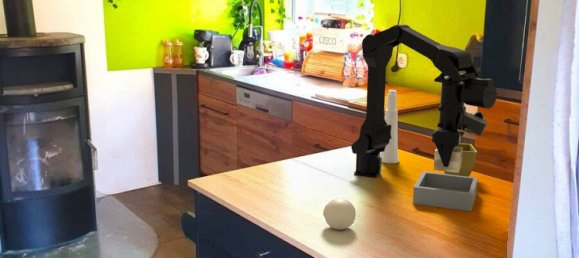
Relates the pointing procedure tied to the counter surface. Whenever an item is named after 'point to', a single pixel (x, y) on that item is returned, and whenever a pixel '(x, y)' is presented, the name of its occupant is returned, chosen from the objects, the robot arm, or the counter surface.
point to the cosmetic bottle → (391, 119)
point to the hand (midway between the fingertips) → (447, 163)
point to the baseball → (339, 213)
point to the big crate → (445, 191)
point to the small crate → (454, 161)
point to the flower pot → (465, 160)
